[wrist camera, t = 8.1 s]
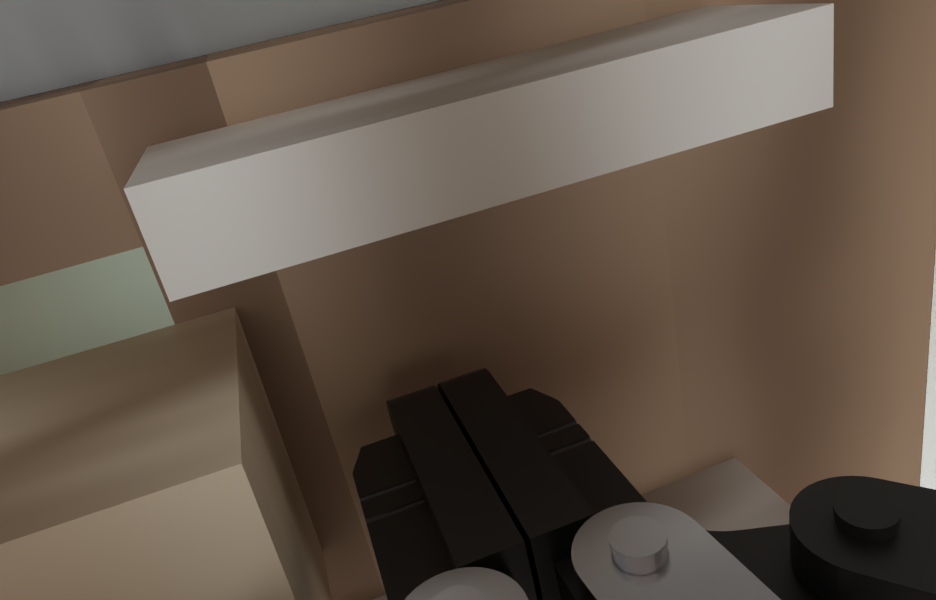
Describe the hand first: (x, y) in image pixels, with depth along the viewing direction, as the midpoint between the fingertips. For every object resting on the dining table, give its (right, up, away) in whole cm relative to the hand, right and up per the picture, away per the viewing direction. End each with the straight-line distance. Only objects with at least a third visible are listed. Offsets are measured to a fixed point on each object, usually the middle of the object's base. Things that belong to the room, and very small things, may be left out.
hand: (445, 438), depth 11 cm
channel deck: (+1, -1, +4) cm, 4 cm away
